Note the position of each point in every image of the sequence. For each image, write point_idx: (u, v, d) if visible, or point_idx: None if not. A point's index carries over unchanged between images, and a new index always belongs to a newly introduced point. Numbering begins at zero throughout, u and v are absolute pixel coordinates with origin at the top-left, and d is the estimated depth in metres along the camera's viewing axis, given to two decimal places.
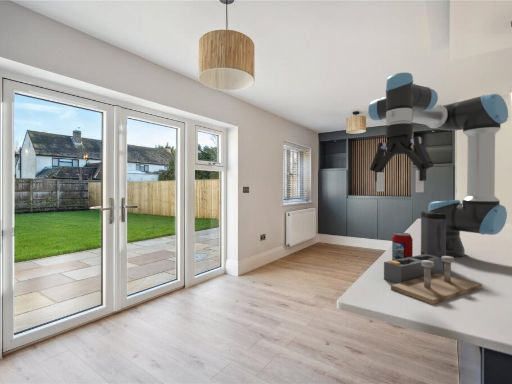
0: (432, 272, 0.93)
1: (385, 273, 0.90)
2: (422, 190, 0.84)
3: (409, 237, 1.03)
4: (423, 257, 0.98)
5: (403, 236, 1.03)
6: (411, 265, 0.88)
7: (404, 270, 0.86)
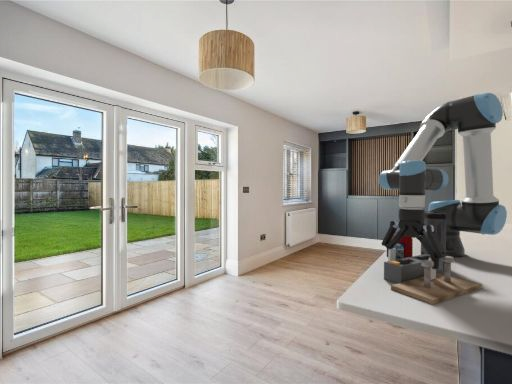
0: None
1: (385, 273, 0.90)
2: (434, 277, 0.86)
3: (409, 237, 1.03)
4: (423, 257, 0.98)
5: None
6: (411, 265, 0.88)
7: (404, 270, 0.86)
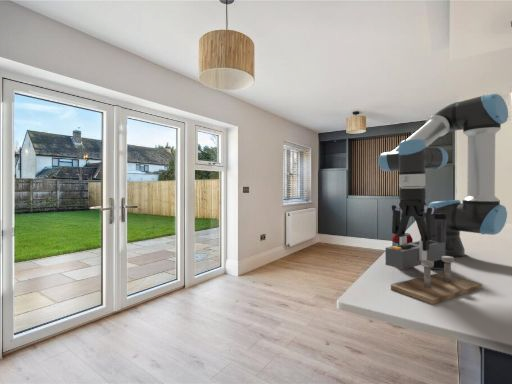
0: (433, 257, 0.93)
1: (387, 259, 0.91)
2: (425, 258, 0.90)
3: (409, 237, 1.03)
4: None
5: None
6: (412, 250, 0.88)
7: (405, 255, 0.86)
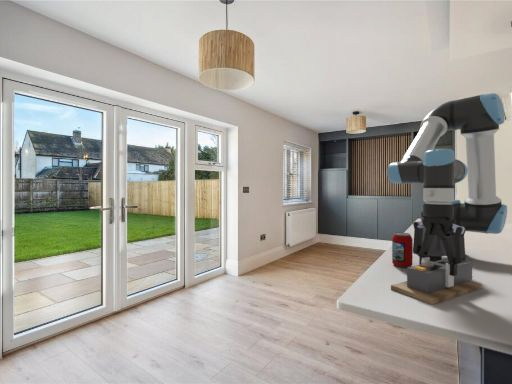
0: (461, 279, 0.82)
1: (408, 280, 0.80)
2: (452, 284, 0.79)
3: (409, 237, 1.03)
4: None
5: (403, 236, 1.03)
6: (439, 271, 0.77)
7: (431, 277, 0.76)
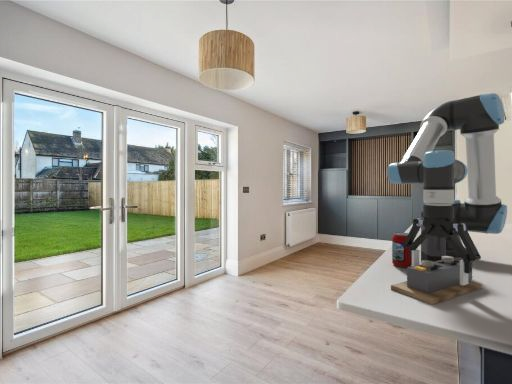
0: None
1: (408, 280, 0.80)
2: (467, 282, 0.76)
3: None
4: None
5: (403, 236, 1.03)
6: (439, 271, 0.77)
7: (431, 277, 0.76)
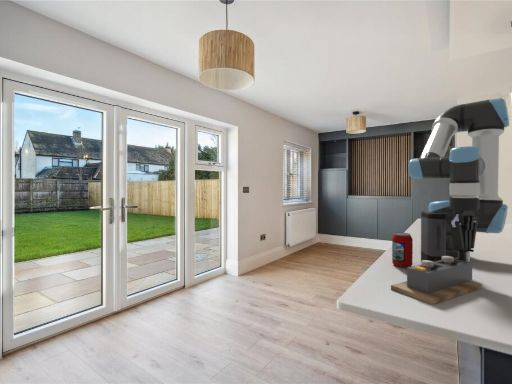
0: (461, 279, 0.82)
1: (408, 280, 0.80)
2: None
3: (409, 237, 1.03)
4: None
5: (403, 236, 1.03)
6: (439, 271, 0.77)
7: (431, 277, 0.76)
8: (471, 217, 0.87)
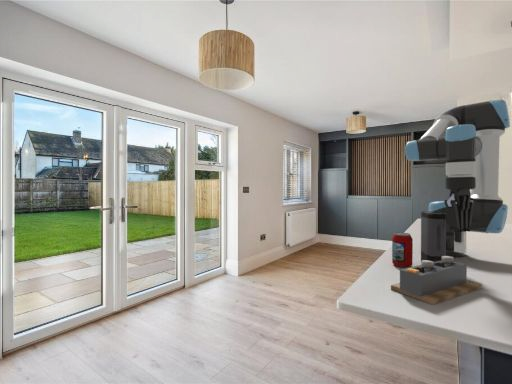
0: (455, 281, 0.81)
1: (401, 282, 0.78)
2: (461, 251, 0.87)
3: (409, 237, 1.03)
4: (443, 263, 0.85)
5: (403, 236, 1.03)
6: (432, 273, 0.76)
7: (424, 279, 0.74)
8: (467, 196, 0.86)
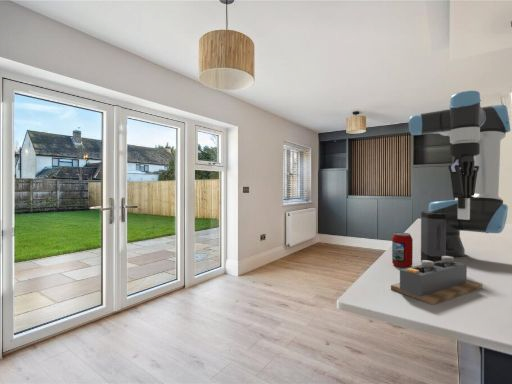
0: (455, 281, 0.81)
1: (401, 282, 0.78)
2: (465, 217, 0.87)
3: (409, 237, 1.03)
4: (443, 263, 0.85)
5: (403, 236, 1.03)
6: (432, 273, 0.76)
7: (424, 279, 0.74)
8: (471, 163, 0.87)
